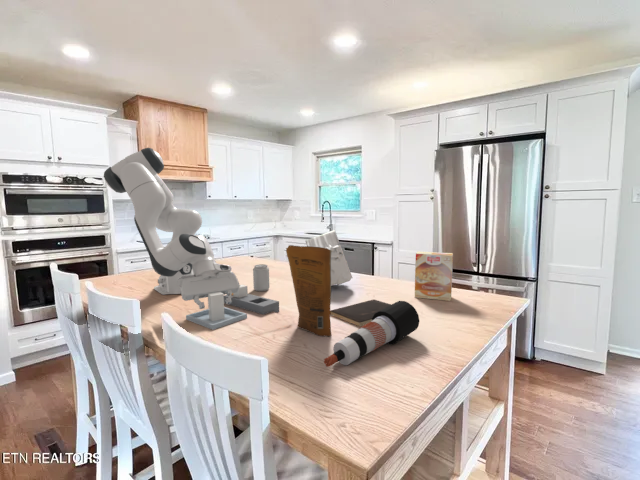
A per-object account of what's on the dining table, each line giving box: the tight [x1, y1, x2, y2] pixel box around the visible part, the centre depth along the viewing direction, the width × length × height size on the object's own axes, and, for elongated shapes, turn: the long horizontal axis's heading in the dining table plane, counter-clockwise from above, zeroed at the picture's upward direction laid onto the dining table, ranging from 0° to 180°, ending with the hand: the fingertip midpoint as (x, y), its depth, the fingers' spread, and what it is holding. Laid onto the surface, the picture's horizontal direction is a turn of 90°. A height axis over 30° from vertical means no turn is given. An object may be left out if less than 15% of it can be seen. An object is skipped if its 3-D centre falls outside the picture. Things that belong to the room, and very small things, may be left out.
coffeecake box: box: [414, 251, 454, 302], centre depth 146 cm, size 15×7×20 cm, turn 68°
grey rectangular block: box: [207, 292, 225, 321], centre depth 119 cm, size 4×4×9 cm
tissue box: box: [305, 229, 353, 287], centre depth 168 cm, size 21×17×26 cm
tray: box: [185, 306, 248, 331], centre depth 120 cm, size 16×14×2 cm
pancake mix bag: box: [285, 244, 333, 337], centre depth 109 cm, size 7×19×28 cm, turn 43°
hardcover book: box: [330, 299, 392, 327], centre depth 127 cm, size 16×23×2 cm
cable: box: [323, 300, 420, 368], centre depth 95 cm, size 10×34×10 cm, turn 133°
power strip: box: [224, 284, 280, 316], centre depth 134 cm, size 24×8×8 cm, turn 52°
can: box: [252, 264, 270, 292], centre depth 162 cm, size 8×8×12 cm
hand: (216, 305), depth 119 cm, fingers open, 8 cm apart
